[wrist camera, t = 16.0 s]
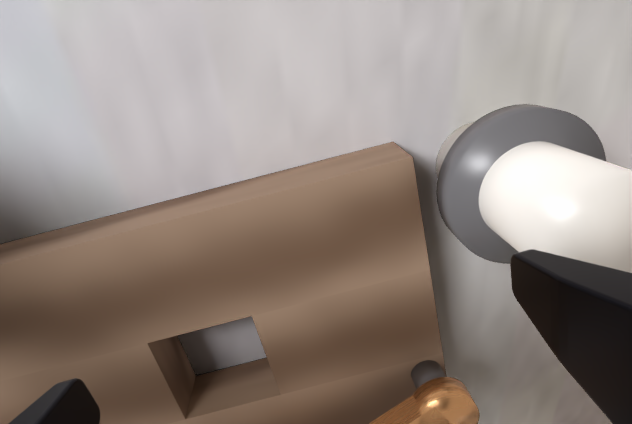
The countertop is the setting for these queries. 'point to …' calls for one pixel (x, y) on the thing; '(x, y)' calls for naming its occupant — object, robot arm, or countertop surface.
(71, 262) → the socket block
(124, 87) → the countertop surface
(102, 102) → the countertop surface
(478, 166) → the plug
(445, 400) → the orange wooden strip
